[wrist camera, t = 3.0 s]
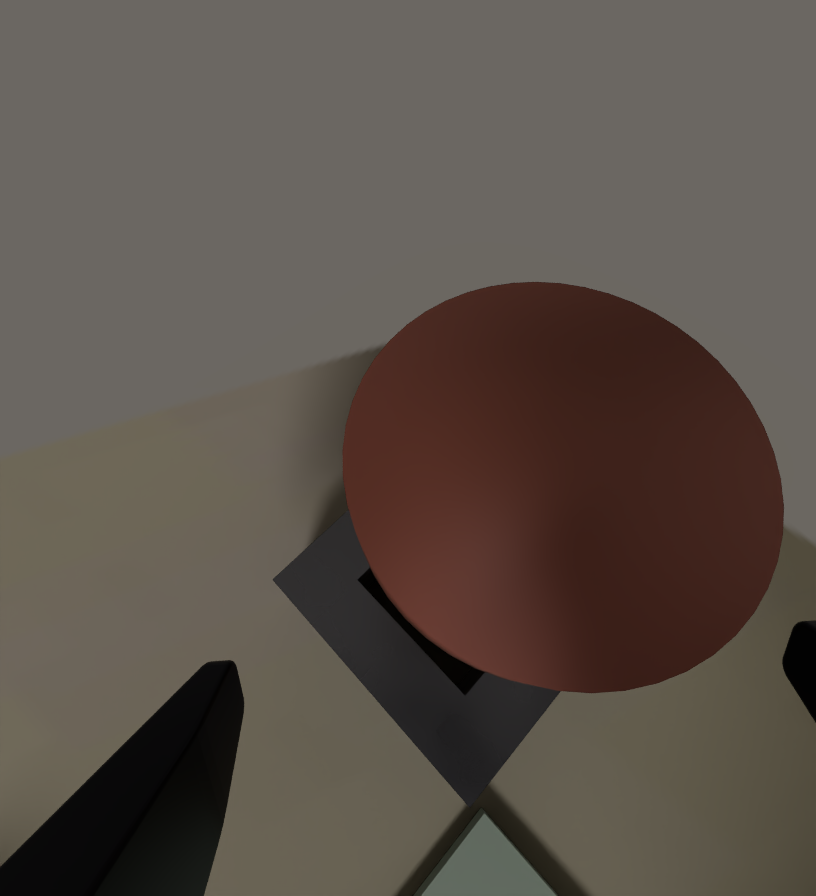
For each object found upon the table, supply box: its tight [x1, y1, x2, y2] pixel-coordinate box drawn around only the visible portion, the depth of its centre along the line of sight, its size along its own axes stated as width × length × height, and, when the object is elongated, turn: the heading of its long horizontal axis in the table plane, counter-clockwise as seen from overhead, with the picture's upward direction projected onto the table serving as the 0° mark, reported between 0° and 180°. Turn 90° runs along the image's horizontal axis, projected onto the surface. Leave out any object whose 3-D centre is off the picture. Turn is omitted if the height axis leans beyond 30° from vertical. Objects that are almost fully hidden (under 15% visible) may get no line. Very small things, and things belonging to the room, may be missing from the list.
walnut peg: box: [343, 282, 784, 693], centre depth 11 cm, size 5×5×13 cm
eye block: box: [273, 510, 560, 807], centre depth 16 cm, size 8×8×3 cm
